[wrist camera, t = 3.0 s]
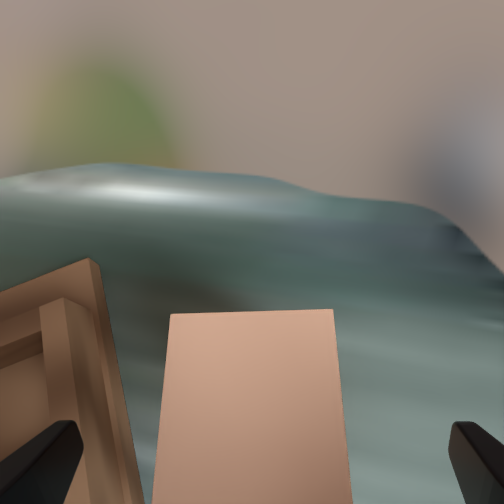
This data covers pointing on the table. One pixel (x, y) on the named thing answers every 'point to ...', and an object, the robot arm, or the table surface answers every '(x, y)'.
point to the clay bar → (252, 411)
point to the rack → (67, 379)
